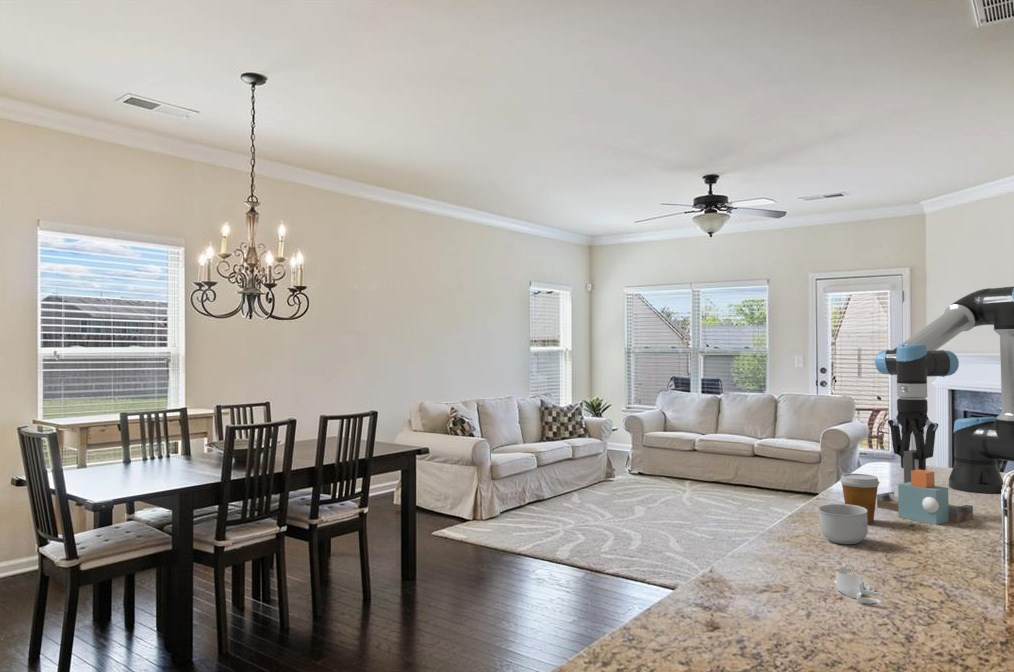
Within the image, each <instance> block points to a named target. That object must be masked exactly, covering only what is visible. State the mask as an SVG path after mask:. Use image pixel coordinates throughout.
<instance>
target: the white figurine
mask: <svg viewBox="0 0 1014 672" xmlns="http://www.w3.org/2000/svg"><path fill="white" fill-rule="evenodd" d="M841 566H842V567H841V568H839V569H837V570H836V575H835V576H836V579H835V580H834V581H833V583H834V584H835V589H836V590H837V591H838V592H840V593H841V594H843V595H844V596H846V597H848V598H852V599H855V600H856V601H857V603H858V604H861V603H862V604H871V605H873V604H877V602H878V603H879V604H881V603H882V600H880V599H877V598H871V597H862V596H863V595H871V596H880V597H881V596H884V593H883V592H879V591H878V589H877V588H872V587H871V585H870V584H869V583H867V582H866V581H865V580H863V579H862V578H861V577H860V576H858V575H856V574H853V575H851V574H848V570H847V566H846V565H845V564H844V562H842V565H841Z"/></svg>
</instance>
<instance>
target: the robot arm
mask: <svg viewBox="0 0 1014 672" xmlns="http://www.w3.org/2000/svg"><path fill="white" fill-rule="evenodd" d="M989 325H990V326H993V331H994V332H995V333H996V334H997V335H998V336H999V347H1000V348H999V349H1000V350H999V353H1000V357H999V358H1000V389H1001V390H1000V391H1001V394H1000V397H1001V413H1000V414H999V415H997V416H996V417H995V416H992V417H991V416H989V417H988V416H985V417H967V418H965V417H964V418H958V419H956V420H954V425H953V432H952V433H953V445H954V446H953V448H954V453H953V454H954V464H953V467H952V469H951V472H950V474H949V478H948V488H951V489H955V490H958V491H964V492H971V493H972V492H973V493H983V494H985V493H986V494H987V493H989V494H995V493H1002V492H1001V489H1002V485H1003V482H1004V480H1003V477H1002V475H1001V473H1000V470H999V467H998V460H999V461H1007V462H1013V463H1014V286H1007V287H1006V286H1005V287H1002V286H1001V287H994V288H982V289H978V290H976V291H973V292H971V293H969V294H966V295H965V296H963V297H961V298H959V299H957V300H956V301H955V302H953V303H951V304H950V305H949V306H947V307H945V310H944V313H943V314H941V315H940V316H939V317H938V318H936V319H934V320H933V321H931V322H930V323H929V324H928V325H926V326H924V327H923V328H922V329H921V330H919V331H917V332H916V333H915V334H913V335H912V336H911V337H909V338H908V339H907V340H905V341H903V342H902V343H901V344H899V345H897V346H896V347H894V348H893V349H886V350H881V351H879V352H877V354H876V356H875V359H874V365H875V368H876V370H877V371H878V372H879V373H880V374H882V375H890V376H896V396H897V397H898V398H897V399H896V410H897V415H896V417H895V418H893V419H888V420H887V424H888V426H889V428H890V434H891V441H892V450H893V454H895V455H897V456H900V467H901V469H904V451H909V450H910V447H911V440H912V439H911V438H912V435H913V436H914V443H915V450H916V451H917V458H916V459H915V470H919V469H920V470H926V469H927V467H926V466H927V463H926V460H927V459H930V458H931V459H932V458H933V457H934V450H935V441H936V440H935V439H936V432H937V429H938V428H939V424H938V422H936V423H935V422H932V421H931V420H930V418H929V417H928V410H929V409H928V399H926V398H928V377H929V378H930V377H943V378H944V377H949V376H952V375H953V374H955V373H956V372H957V371H958V369H959V365H960V363H959V357H958V356H957V355H956V354H955V353H954V352H953V351H950V350H944V349H942V350H941V349H940V348H941V347H943V346H944V345H946V344H947V343H948V342H950V341H952V339H954V338H955V337H957V336H958V335H960V334H961V333H962V332H969V331H971V330H973V328H975V327H981V326H989ZM900 426H901V429H900ZM925 428H926V432H925V431H924V429H925ZM924 434H925V437H924Z"/></svg>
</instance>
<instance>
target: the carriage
mask: <svg viewBox="0 0 1014 672" xmlns="http://www.w3.org/2000/svg"><path fill="white" fill-rule="evenodd" d="M916 458H917V451H916V449H911V450H910V449H909V451H904V468H903V483H907V482H911V471H913V470H915V459H916ZM893 489H894V491H893V492H894V496H896V497H898V484H896V485H894V487H893Z"/></svg>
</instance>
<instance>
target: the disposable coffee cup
mask: <svg viewBox="0 0 1014 672" xmlns="http://www.w3.org/2000/svg"><path fill="white" fill-rule="evenodd" d="M839 481H840V484H841V485H842V486H841V487H842V494H843V500H844V504H849V505H856V506H860V507H864V508H866V509H867V511H868V513H867V519H868V525H869V524H874V519H875V513H876V512H875V511H876V505H877V495H878V487H879V484H880V481H879V479H878V477H877V476H875V475H872V474H865V473H864V474H863V473H844V474H841V478H840V479H839Z"/></svg>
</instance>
